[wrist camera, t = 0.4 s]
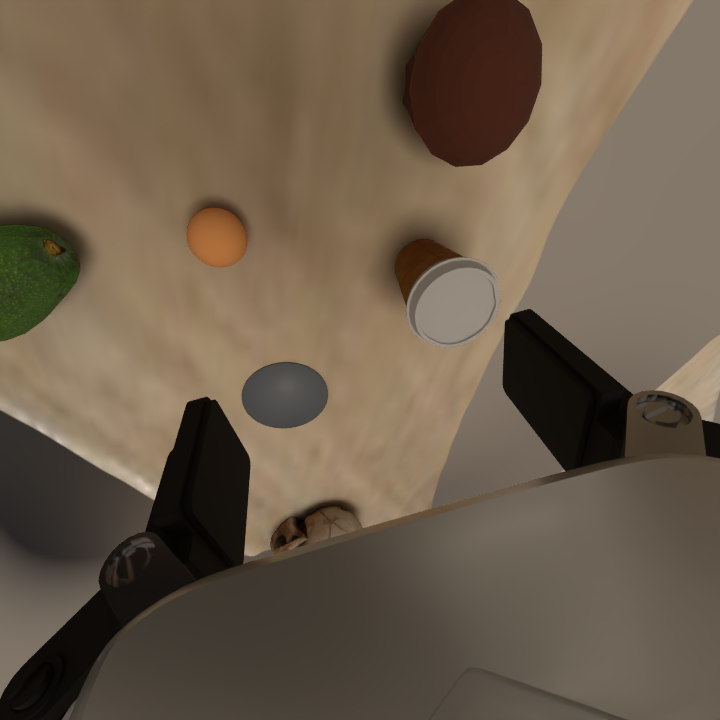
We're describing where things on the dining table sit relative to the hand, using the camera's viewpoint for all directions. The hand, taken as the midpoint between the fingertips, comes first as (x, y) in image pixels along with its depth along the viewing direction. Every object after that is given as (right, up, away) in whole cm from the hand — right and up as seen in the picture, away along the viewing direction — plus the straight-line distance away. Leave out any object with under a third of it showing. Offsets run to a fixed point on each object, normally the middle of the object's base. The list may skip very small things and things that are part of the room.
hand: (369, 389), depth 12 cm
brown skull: (-9, -31, +61) cm, 69 cm away
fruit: (-34, +11, +26) cm, 45 cm away
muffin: (+8, +27, +24) cm, 37 cm away
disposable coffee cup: (+7, +13, +34) cm, 37 cm away
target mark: (-11, -4, +42) cm, 43 cm away
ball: (-14, +13, +25) cm, 32 cm away
